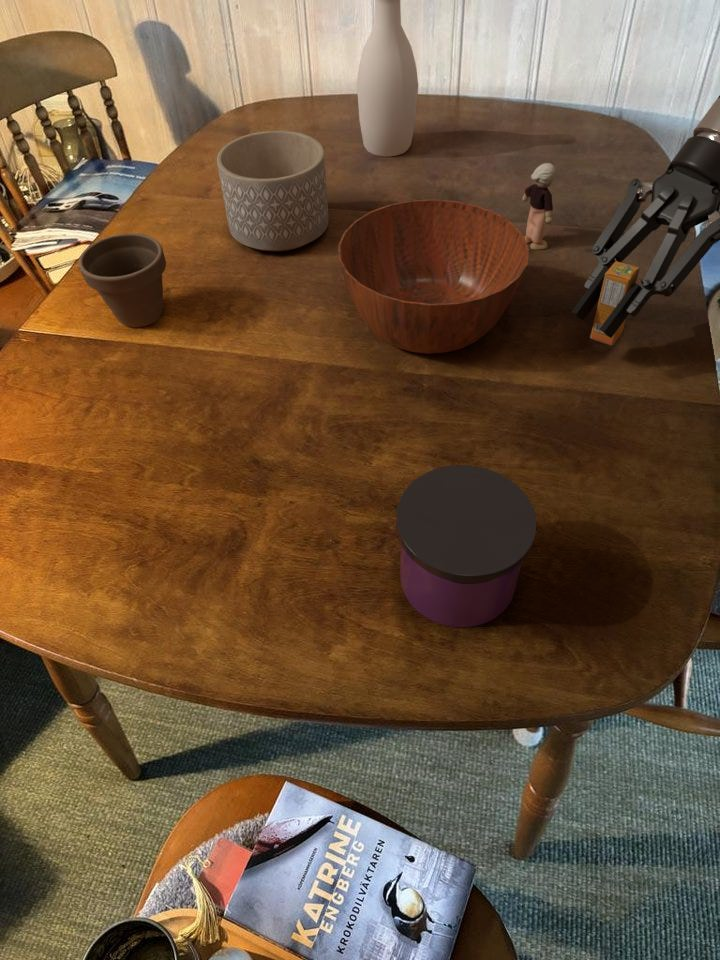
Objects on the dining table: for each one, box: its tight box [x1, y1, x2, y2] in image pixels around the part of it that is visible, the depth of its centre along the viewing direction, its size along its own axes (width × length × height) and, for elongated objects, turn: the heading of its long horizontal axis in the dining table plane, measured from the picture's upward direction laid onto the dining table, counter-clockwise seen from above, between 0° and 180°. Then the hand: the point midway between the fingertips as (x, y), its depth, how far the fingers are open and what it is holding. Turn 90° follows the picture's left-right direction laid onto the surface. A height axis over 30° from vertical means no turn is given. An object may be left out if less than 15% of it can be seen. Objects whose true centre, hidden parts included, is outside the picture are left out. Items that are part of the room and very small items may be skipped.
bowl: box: [337, 198, 530, 355], centre depth 99 cm, size 25×25×11 cm
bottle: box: [356, 0, 419, 158], centre depth 128 cm, size 11×11×25 cm
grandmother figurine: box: [522, 162, 556, 251], centre depth 110 cm, size 8×4×13 cm, turn 34°
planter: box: [216, 130, 330, 252], centre depth 115 cm, size 16×16×13 cm
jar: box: [395, 464, 538, 628], centre depth 71 cm, size 13×13×10 cm
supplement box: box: [589, 261, 640, 346], centre depth 90 cm, size 3×3×10 cm
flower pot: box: [78, 232, 167, 328], centre depth 102 cm, size 12×11×10 cm
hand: (591, 324), depth 89 cm, fingers closed on supplement box, 4 cm apart
